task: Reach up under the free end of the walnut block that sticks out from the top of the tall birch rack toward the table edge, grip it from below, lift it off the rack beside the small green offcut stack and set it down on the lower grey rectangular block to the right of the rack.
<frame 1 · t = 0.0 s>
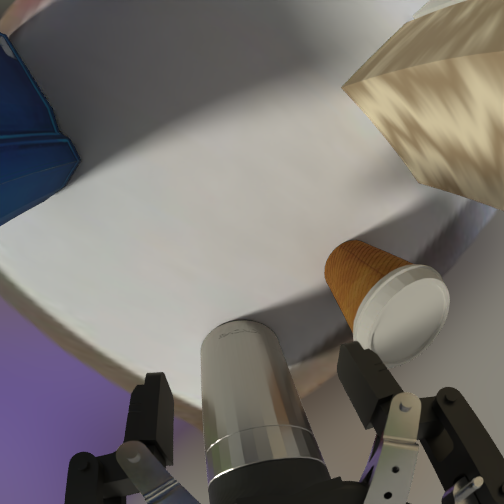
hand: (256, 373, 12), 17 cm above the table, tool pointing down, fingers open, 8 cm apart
book: (22, 114, 20), on the table
grey rectangular block: (457, 51, 23), on the table
birch rack: (417, 98, 25), on the table
disposable coffee cup: (349, 266, 31), on the table
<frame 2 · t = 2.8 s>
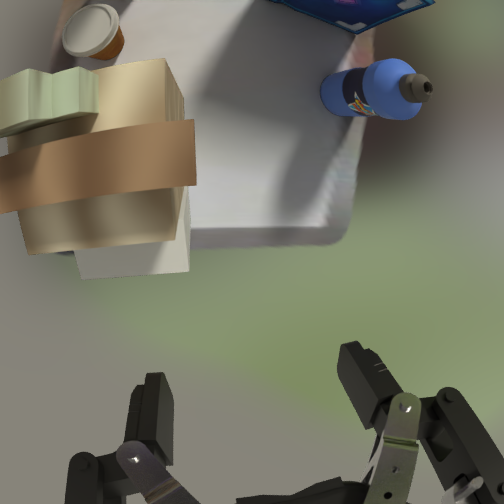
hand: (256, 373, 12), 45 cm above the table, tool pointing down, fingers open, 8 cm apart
walnut block: (38, 171, 18), point 32 cm above the table, touching birch rack
book: (311, 4, 40), on the table
grey rectangular block: (150, 206, 52), on the table
birch rack: (146, 139, 47), on the table
water bottle: (340, 94, 49), on the table
disposable coffee cup: (108, 45, 38), on the table
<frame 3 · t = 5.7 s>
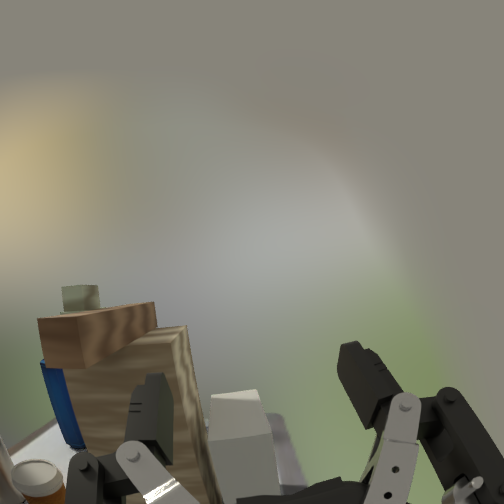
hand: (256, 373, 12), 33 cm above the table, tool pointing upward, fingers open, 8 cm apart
walnut block: (118, 341, 30), point 32 cm above the table, touching birch rack
book: (94, 435, 58), on the table
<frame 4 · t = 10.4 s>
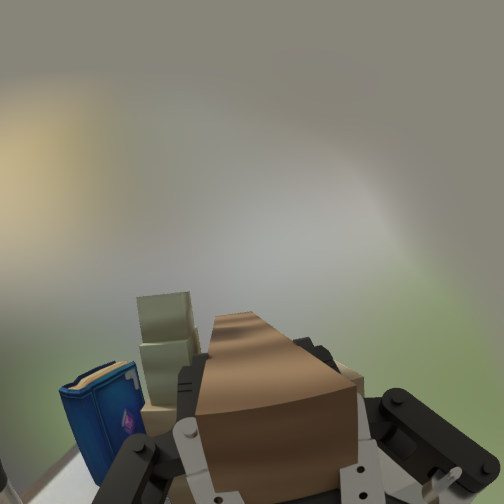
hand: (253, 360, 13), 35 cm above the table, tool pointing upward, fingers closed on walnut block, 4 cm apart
walnut block: (249, 385, 19), point 32 cm above the table, touching birch rack, gripper
book: (129, 471, 46), on the table
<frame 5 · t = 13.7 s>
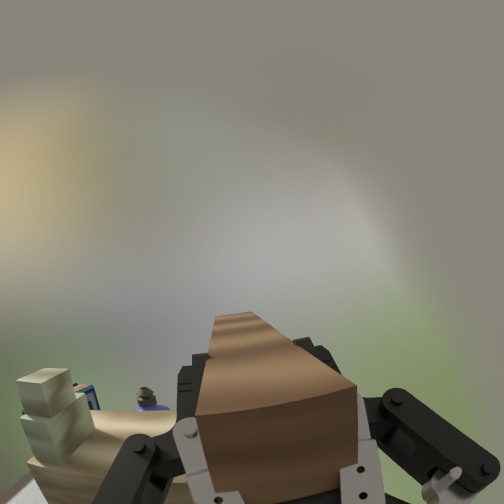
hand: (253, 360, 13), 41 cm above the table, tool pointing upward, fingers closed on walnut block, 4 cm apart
walnut block: (249, 385, 19), point 38 cm above the table, touching gripper
book: (91, 483, 44), on the table
water bottle: (169, 476, 52), on the table
when the fingers open (26 cm above the table, at t = 17.1 s): walnut block drops 2 cm, resting on grey rectangular block.
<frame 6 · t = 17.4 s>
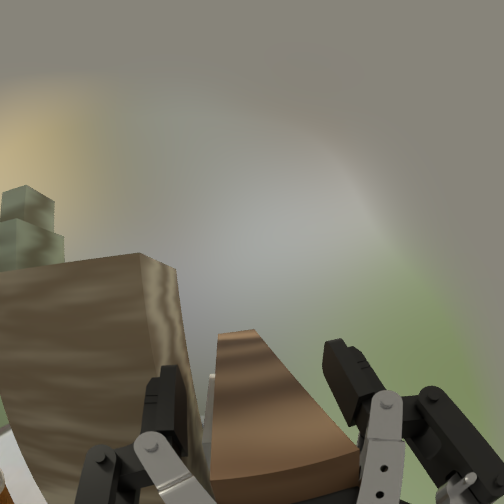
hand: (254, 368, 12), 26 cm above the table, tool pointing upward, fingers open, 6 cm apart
walnut block: (253, 411, 18), point 20 cm above the table, touching grey rectangular block
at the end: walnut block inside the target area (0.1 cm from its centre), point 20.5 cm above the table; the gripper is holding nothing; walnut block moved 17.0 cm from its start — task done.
